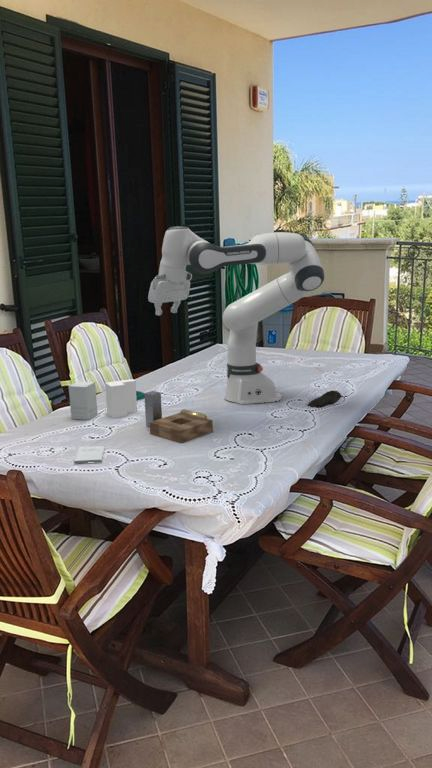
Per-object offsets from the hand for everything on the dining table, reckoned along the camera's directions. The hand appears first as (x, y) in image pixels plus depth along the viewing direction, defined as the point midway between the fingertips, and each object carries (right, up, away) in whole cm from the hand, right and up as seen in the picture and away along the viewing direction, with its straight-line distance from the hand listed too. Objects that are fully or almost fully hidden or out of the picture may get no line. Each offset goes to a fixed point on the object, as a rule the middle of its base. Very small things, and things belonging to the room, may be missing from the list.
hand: (166, 313), depth 228 cm
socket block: (+6, -41, -6) cm, 42 cm away
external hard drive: (-21, -47, -26) cm, 58 cm away
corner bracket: (-18, -35, +19) cm, 44 cm away
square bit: (-4, -39, +2) cm, 39 cm away
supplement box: (-31, -37, +15) cm, 50 cm away
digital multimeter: (-18, -32, +35) cm, 51 cm away
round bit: (+10, -38, +6) cm, 39 cm away
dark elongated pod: (+61, -32, +28) cm, 74 cm away
